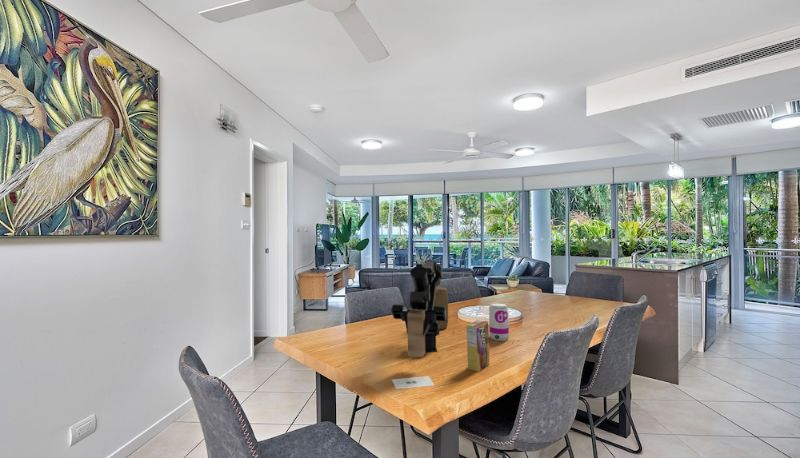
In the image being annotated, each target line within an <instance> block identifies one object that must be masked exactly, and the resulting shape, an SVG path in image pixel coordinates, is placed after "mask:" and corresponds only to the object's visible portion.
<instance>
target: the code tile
mask: <svg viewBox="0 0 800 458" xmlns="http://www.w3.org/2000/svg"><path fill="white" fill-rule="evenodd" d="M391 381H392V384H393V385H394V389H396V390H401V389H409V388H410V389H411V388H412V389H413V388H421V387H432V386H433V387H434V386H435V383H434V382H433V380H432V379H431V378H430V376H428V375H425V376H424V375H423V376H415V377H404V378H395V379H394V378H393V379H391Z"/></svg>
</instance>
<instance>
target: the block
mask: <svg viewBox="0 0 800 458" xmlns="http://www.w3.org/2000/svg"><path fill="white" fill-rule="evenodd" d="M447 289H448V288H446V287H444V286H438V287H436V295H435V303H434V306H444V307H445V310H446V321H437V322H438V324H439V330H445V329H447V328H448V324H449V299H448V298H449V296H448V290H447Z"/></svg>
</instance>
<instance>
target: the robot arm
mask: <svg viewBox="0 0 800 458" xmlns="http://www.w3.org/2000/svg"><path fill="white" fill-rule="evenodd" d="M442 268H443V267H442V266H440V264H438V262H437V260H435V259H432V260H431V259H429V260H425V261H424V264H423V263H417V264H416V265H415V266H414V267H413V268H411V269H410V270H409V271H410V272H409V273H410V277H411V278H410V279H411V281H412V285H413V287H414V289H413V291H410V292H409V299H408V302H409V306H410V308H408V307H405V306H404V304H402V303H401V304H400V303H394V304H392V306H391V309H390V311H391V313H392V317H393V319H395V320H401V321H402V322H404V323H405V329H406V333H407V335H408V320H407V314H408V313H409V311H410V310H413V311H425V325H424V329H423V336H425V353H426V352H427V353H428V352H438V348H437V337H438V336H439V335H440V329H439V324H438V322H437V321H446V310H445V307H444V306H434V303H435V295H436V287H440V286H441V283H442V282H441V281H442V280H443V269H442Z"/></svg>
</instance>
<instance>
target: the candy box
mask: <svg viewBox="0 0 800 458" xmlns="http://www.w3.org/2000/svg"><path fill="white" fill-rule="evenodd" d="M489 338H490V336H489V320H488V321H487V320H482V319H481V320H480V319H478V320H475V321H474V322H470V323H469V324H468V323H467V324H466V347H467V348H466V350H467V351H466V352H467V353H466V354H467V356H466V357H467V369H468V370H471V371H475V372H478V373H479V372H480V371H482V370H483V369H485V368H486V367H488V366H489V365H491V364H490V363H491V362H490V342H489Z"/></svg>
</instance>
